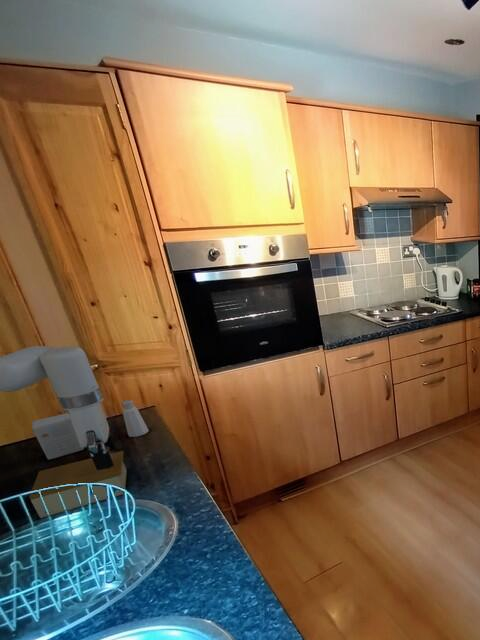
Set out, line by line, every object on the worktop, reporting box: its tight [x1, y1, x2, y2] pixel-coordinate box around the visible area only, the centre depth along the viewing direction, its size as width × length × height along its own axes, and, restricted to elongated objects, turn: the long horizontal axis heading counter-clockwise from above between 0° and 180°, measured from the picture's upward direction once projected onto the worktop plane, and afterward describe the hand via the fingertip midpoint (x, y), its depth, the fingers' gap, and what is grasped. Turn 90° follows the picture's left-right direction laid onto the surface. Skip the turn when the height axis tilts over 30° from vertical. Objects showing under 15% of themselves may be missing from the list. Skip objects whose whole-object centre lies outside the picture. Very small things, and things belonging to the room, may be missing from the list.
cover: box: [28, 446, 125, 500], centre depth 111 cm, size 16×13×5 cm
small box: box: [31, 412, 85, 461], centre depth 130 cm, size 8×6×10 cm
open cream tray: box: [30, 462, 127, 519], centre depth 113 cm, size 16×13×5 cm
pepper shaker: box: [120, 399, 150, 438], centre depth 140 cm, size 5×5×11 cm
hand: (107, 459), depth 115 cm, fingers open, 8 cm apart
